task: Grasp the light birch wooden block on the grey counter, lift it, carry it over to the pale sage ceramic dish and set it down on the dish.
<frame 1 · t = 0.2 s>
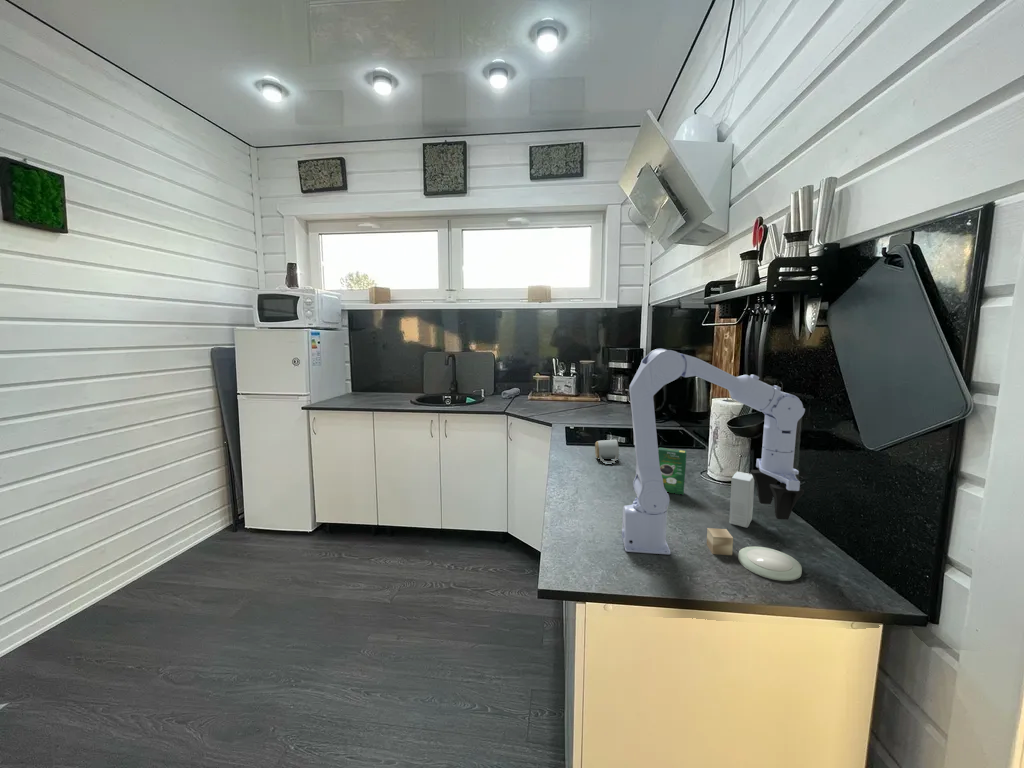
hand: (773, 510, 88), 10 cm above the counter, tool pointing down, fingers open, 7 cm apart
coffee box: (670, 492, 123), on the counter
ceramic mug: (607, 461, 154), on the counter
dish: (768, 564, 84), on the counter
skincare box: (740, 522, 104), on the counter
block: (719, 550, 91), on the counter
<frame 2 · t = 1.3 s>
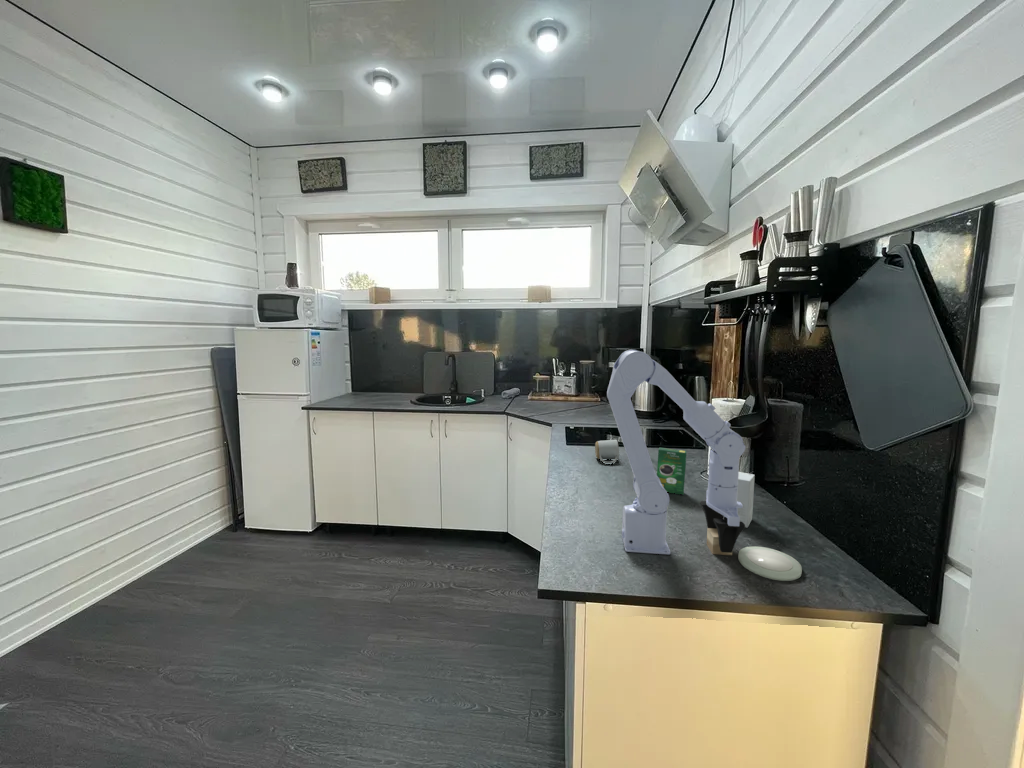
hand: (719, 542, 90), 2 cm above the counter, tool pointing down, fingers open, 7 cm apart
nothing on the counter moved.
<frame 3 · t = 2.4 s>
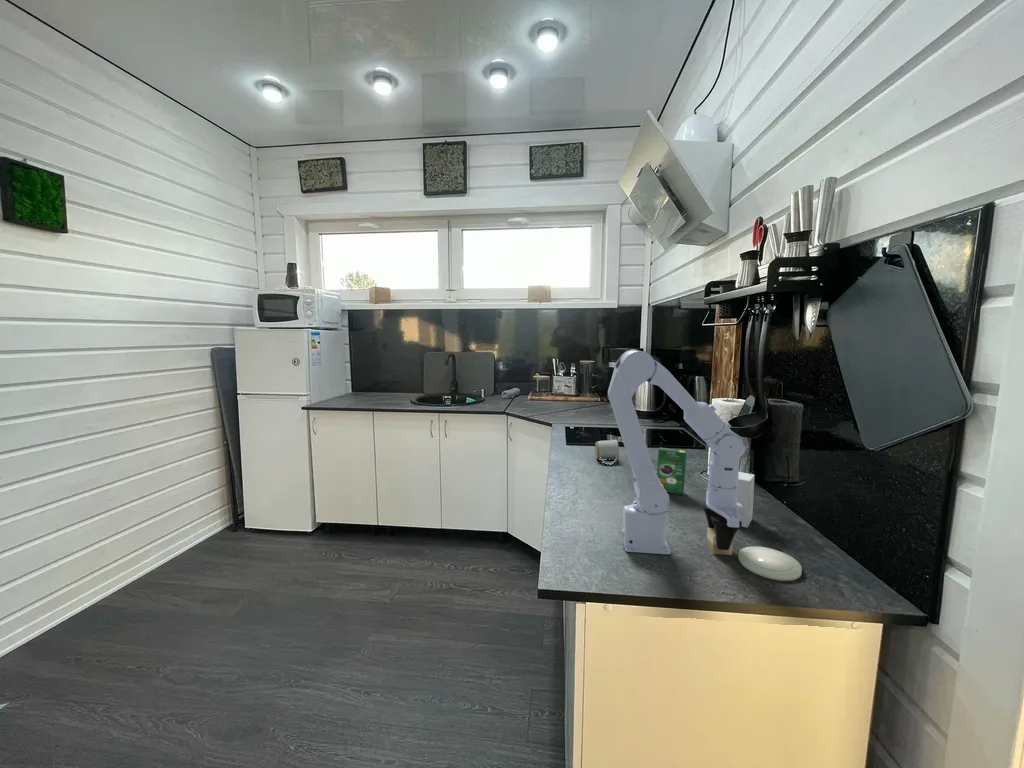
hand: (719, 543, 90), 1 cm above the counter, tool pointing down, fingers closed on block, 4 cm apart
block: (719, 549, 91), on the counter, touching gripper
everything else where it was.
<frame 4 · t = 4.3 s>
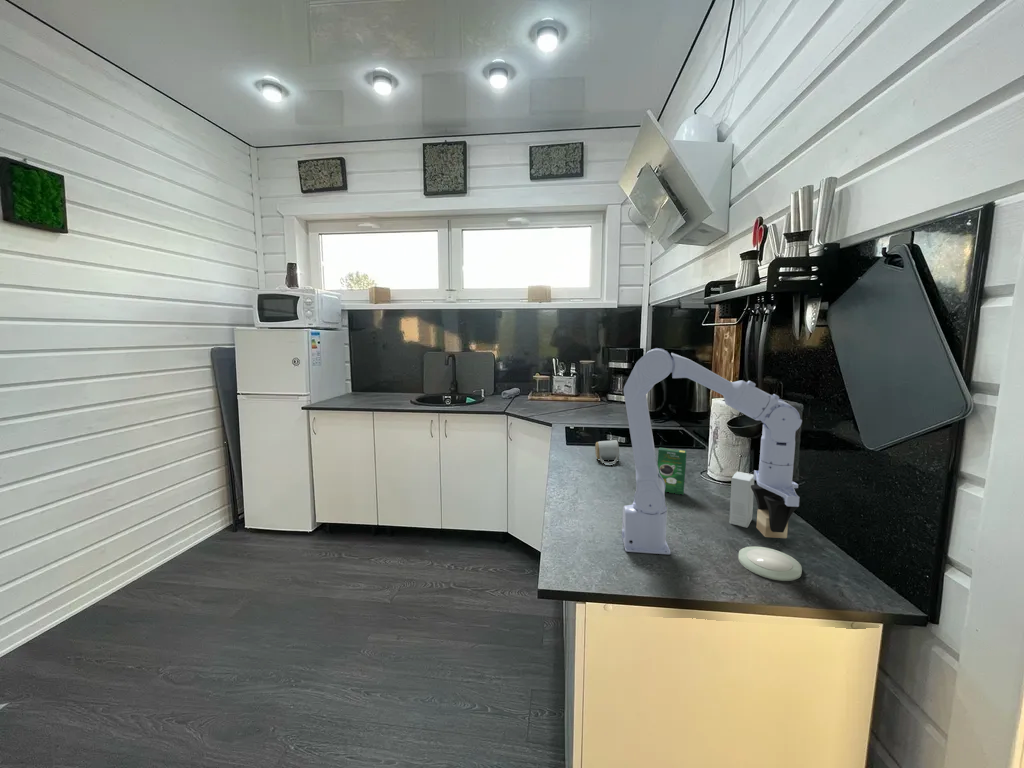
hand: (771, 526, 83), 8 cm above the counter, tool pointing down, fingers closed on block, 4 cm apart
block: (771, 532, 84), point 7 cm above the counter, touching gripper
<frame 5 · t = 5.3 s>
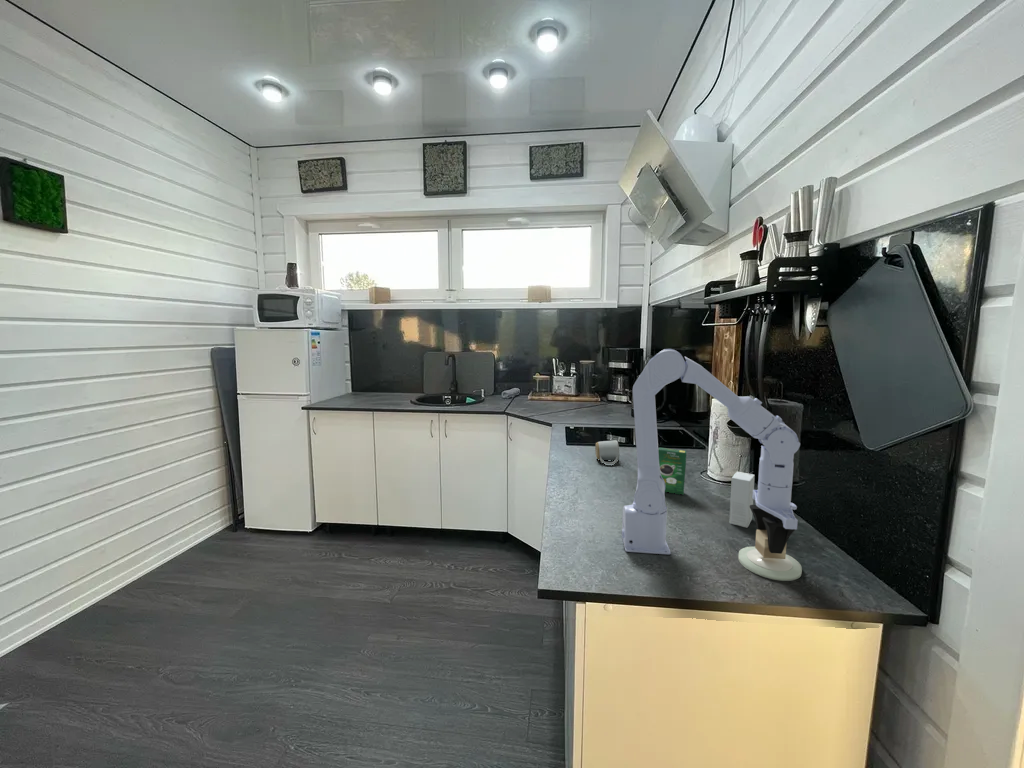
hand: (770, 546, 84), 4 cm above the counter, tool pointing down, fingers closed on block, 4 cm apart
block: (769, 553, 84), point 3 cm above the counter, touching gripper
when the fingers open (4 cm above the counter, at t = 6.1 s): block drops 1 cm, resting on dish.
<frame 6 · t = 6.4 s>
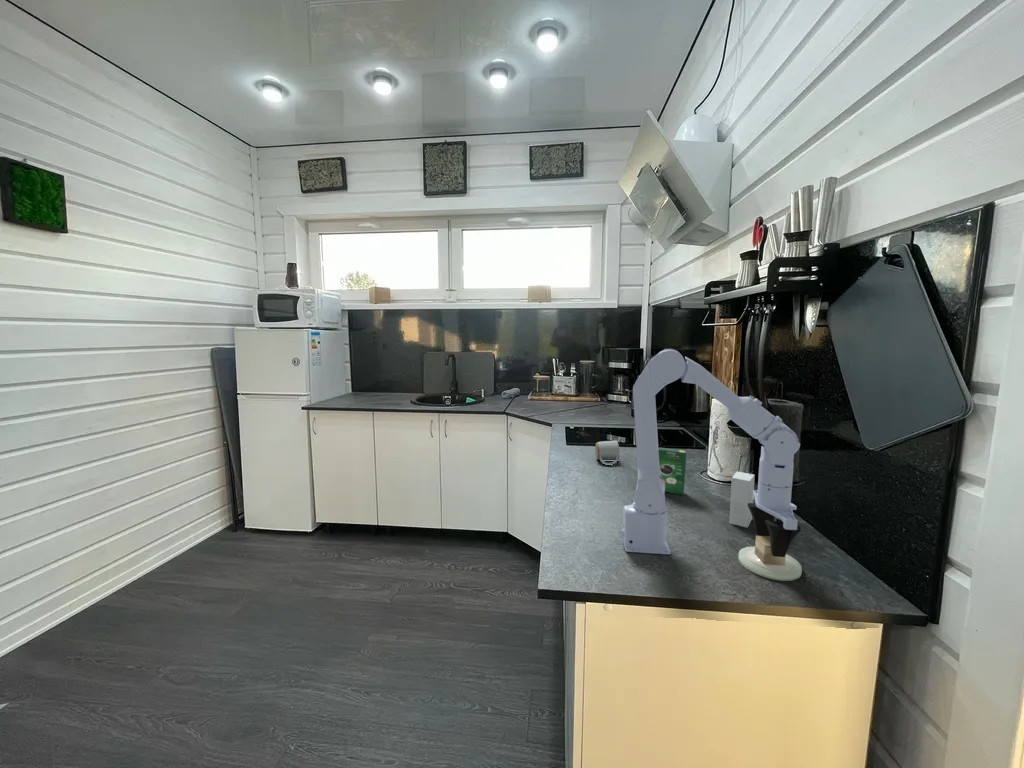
hand: (770, 546, 84), 4 cm above the counter, tool pointing down, fingers open, 6 cm apart
block: (769, 559, 84), point 1 cm above the counter, touching dish
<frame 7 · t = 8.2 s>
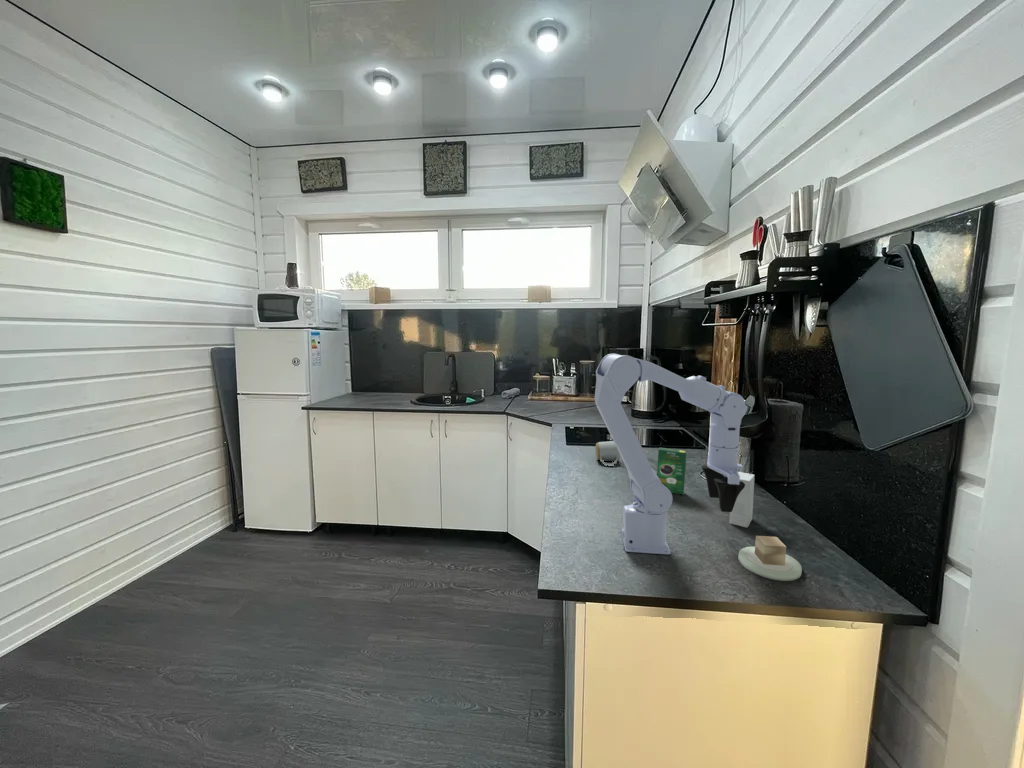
hand: (720, 504, 92), 9 cm above the counter, tool pointing down, fingers open, 7 cm apart
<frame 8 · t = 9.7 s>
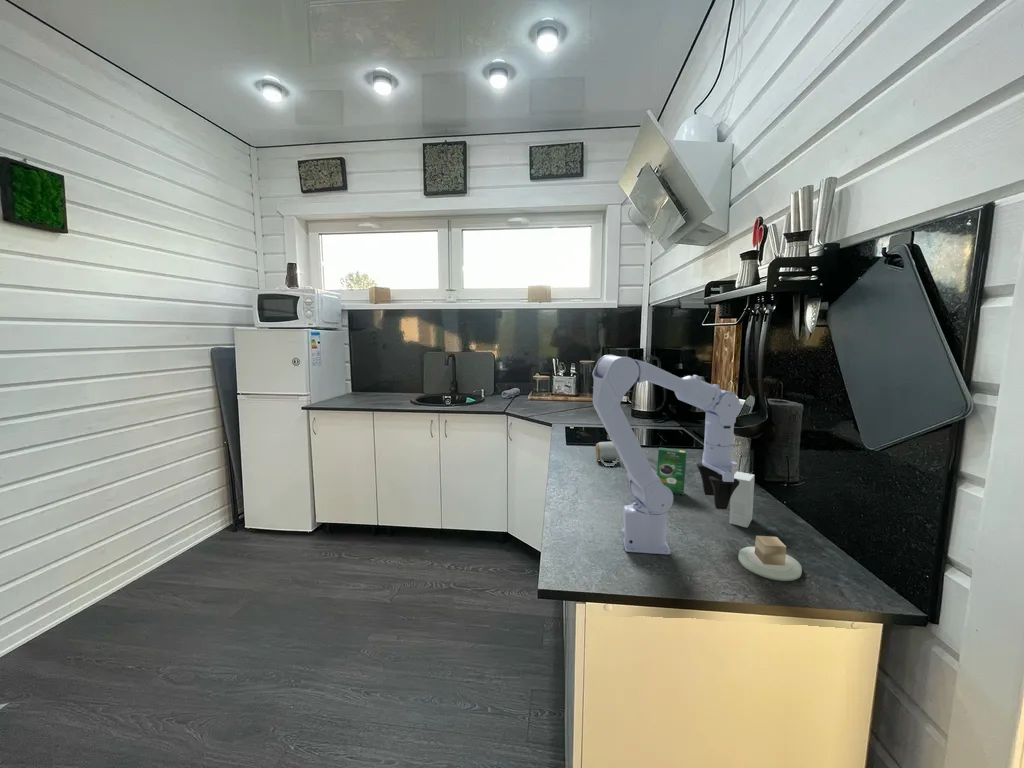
hand: (715, 501, 93), 9 cm above the counter, tool pointing down, fingers open, 7 cm apart
at the end: block 0.0 cm off-centre on the dish, point 1.2 cm above the dish's base; block tilted 0°; the gripper is holding nothing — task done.
